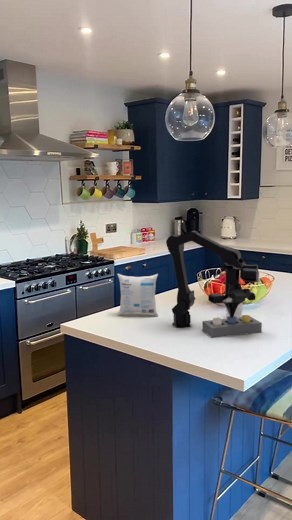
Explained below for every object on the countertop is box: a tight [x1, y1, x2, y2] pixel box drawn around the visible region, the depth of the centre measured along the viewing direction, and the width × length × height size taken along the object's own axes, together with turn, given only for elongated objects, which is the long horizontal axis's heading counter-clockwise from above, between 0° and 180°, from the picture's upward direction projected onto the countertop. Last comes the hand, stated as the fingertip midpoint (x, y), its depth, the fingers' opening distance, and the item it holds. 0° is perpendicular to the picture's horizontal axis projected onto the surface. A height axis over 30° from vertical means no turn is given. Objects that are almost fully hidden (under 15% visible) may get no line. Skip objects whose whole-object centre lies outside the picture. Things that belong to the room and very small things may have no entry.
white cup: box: [225, 302, 244, 318], centre depth 207 cm, size 8×8×10 cm
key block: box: [201, 316, 263, 339], centre depth 188 cm, size 22×10×4 cm, turn 106°
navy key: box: [226, 316, 236, 324], centre depth 188 cm, size 4×4×4 cm
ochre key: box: [241, 314, 251, 323], centre depth 189 cm, size 4×4×4 cm
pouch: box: [117, 273, 159, 317], centre depth 212 cm, size 8×19×20 cm, turn 79°
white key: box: [212, 317, 223, 326], centre depth 186 cm, size 4×4×4 cm
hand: (231, 317), depth 187 cm, fingers closed, pressing on navy key
